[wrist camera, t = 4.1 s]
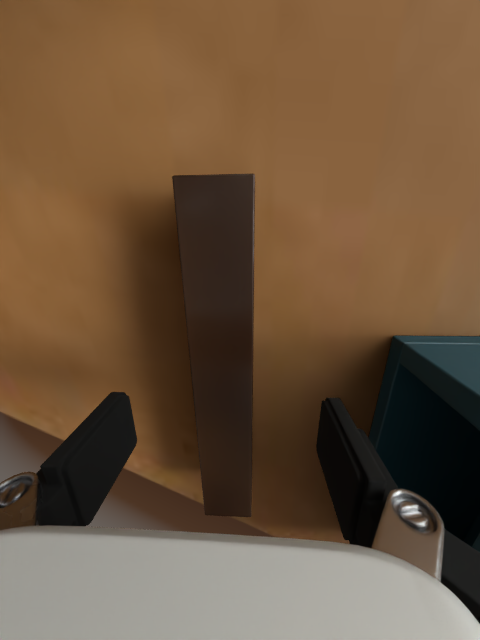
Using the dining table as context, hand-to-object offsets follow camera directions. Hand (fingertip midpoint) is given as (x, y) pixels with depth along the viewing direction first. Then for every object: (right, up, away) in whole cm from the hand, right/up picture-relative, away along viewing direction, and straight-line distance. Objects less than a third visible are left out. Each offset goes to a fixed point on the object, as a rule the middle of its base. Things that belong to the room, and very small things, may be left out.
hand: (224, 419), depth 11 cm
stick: (0, +2, +3) cm, 4 cm away
